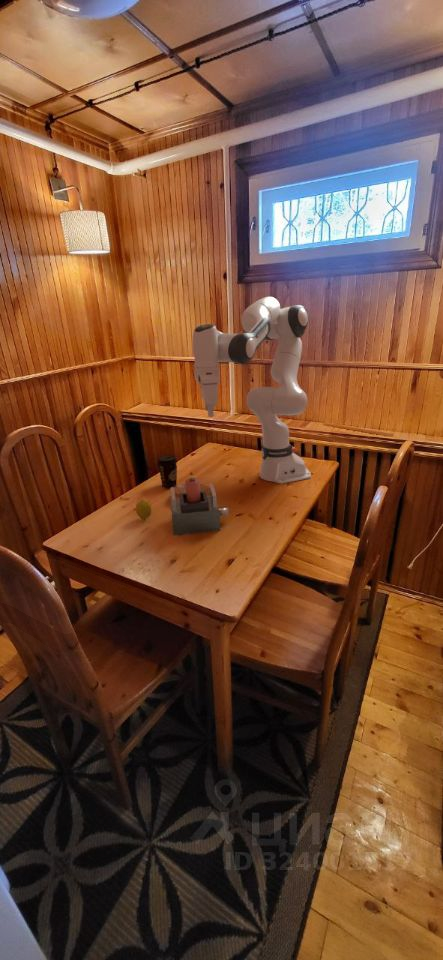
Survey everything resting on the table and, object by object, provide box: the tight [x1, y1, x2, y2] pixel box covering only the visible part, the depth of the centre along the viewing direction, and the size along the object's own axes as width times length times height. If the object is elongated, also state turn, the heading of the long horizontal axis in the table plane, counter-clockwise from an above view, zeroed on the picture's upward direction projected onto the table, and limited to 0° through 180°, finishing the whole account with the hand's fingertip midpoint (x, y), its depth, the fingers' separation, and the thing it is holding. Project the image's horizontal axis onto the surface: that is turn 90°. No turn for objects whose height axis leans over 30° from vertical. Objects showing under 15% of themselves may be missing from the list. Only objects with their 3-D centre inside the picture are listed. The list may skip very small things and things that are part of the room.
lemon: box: [135, 498, 152, 520], centre depth 149 cm, size 6×6×8 cm
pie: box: [174, 483, 210, 499], centre depth 163 cm, size 16×16×5 cm
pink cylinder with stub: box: [177, 477, 201, 503], centre depth 140 cm, size 8×5×10 cm, turn 98°
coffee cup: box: [156, 454, 178, 490], centre depth 174 cm, size 9×8×13 cm
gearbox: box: [170, 483, 230, 536], centre depth 143 cm, size 20×12×13 cm, turn 98°
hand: (209, 413), depth 149 cm, fingers open, 8 cm apart
